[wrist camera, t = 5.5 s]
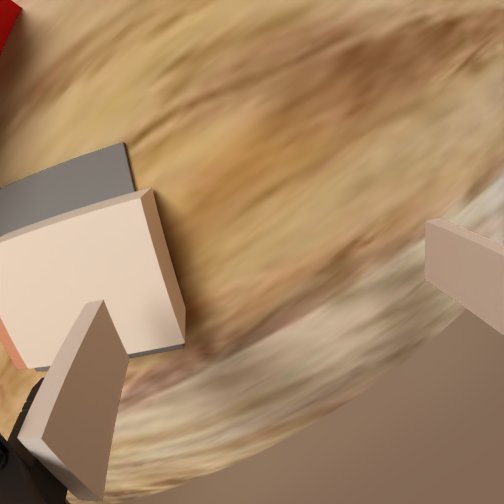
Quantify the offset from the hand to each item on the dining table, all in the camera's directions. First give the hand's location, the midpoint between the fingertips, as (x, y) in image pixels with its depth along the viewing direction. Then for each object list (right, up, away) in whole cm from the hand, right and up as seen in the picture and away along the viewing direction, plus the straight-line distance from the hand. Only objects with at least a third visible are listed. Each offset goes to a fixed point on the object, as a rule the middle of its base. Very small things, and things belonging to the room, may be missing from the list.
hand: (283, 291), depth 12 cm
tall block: (-6, +1, +5) cm, 8 cm away
